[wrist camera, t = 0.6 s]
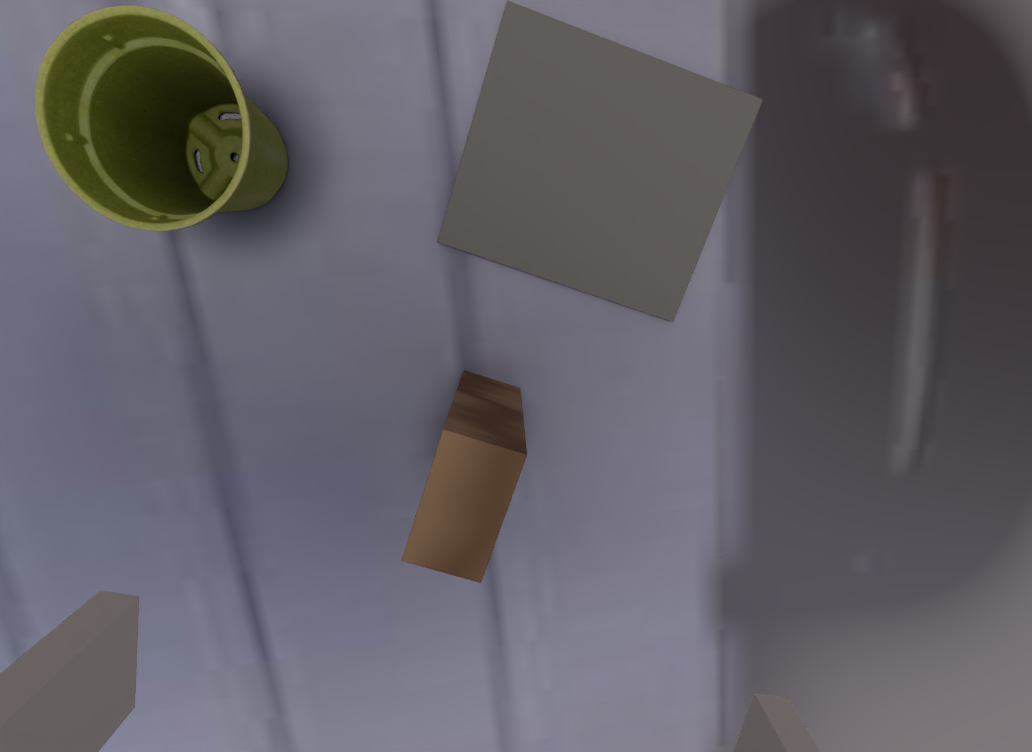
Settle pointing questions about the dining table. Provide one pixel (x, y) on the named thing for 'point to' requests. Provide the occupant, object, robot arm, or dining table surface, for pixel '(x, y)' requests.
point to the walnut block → (470, 479)
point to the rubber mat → (594, 163)
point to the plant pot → (152, 122)
